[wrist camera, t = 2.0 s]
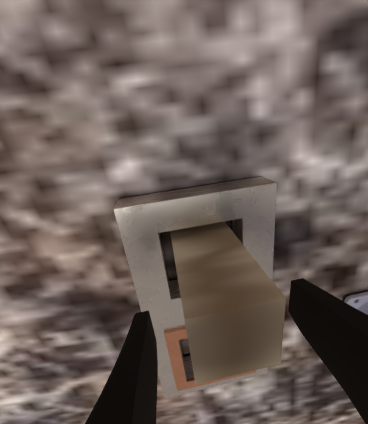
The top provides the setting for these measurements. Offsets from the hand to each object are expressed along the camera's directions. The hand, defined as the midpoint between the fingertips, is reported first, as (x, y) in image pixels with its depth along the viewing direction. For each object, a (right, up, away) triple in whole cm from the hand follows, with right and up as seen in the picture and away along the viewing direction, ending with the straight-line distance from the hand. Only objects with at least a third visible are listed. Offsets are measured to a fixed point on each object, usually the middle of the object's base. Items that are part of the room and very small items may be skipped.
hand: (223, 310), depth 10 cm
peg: (-1, +2, +6) cm, 6 cm away
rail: (0, -2, +8) cm, 8 cm away
